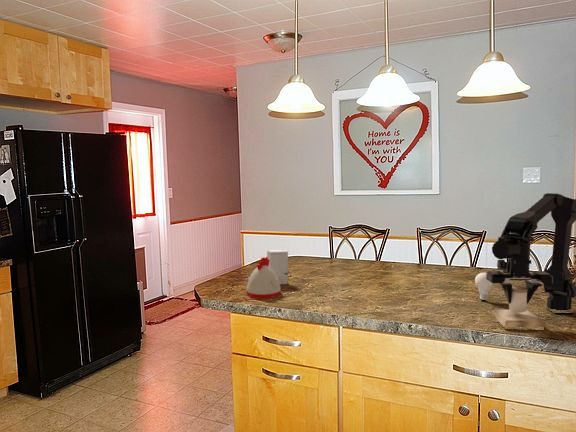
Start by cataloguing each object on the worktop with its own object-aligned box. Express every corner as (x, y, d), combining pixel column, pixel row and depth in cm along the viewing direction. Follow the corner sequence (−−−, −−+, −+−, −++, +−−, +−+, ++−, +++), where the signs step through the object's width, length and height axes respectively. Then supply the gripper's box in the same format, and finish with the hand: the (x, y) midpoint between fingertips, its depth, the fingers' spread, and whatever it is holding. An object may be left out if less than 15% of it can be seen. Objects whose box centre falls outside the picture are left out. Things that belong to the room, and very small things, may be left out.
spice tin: (522, 307, 153) (523, 286, 152) (529, 312, 148) (530, 290, 147) (506, 307, 153) (507, 285, 153) (512, 311, 148) (513, 290, 148)
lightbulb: (494, 300, 177) (495, 272, 176) (489, 304, 173) (490, 275, 171) (477, 297, 182) (478, 270, 180) (471, 301, 177) (472, 272, 176)
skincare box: (270, 285, 203) (270, 252, 201) (266, 282, 209) (265, 250, 207) (288, 284, 206) (288, 250, 204) (284, 281, 211) (283, 248, 210)
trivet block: (527, 318, 157) (528, 309, 156) (544, 330, 145) (545, 321, 144) (491, 317, 158) (491, 309, 157) (504, 330, 146) (505, 320, 145)
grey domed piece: (286, 292, 193) (286, 256, 191) (268, 300, 181) (268, 262, 180) (259, 288, 200) (258, 253, 198) (239, 295, 188) (239, 259, 187)
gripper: (538, 251, 156) (536, 296, 158) (481, 251, 158) (479, 296, 159) (554, 257, 145) (552, 306, 147) (493, 257, 147) (491, 305, 148)
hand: (517, 303), depth 150 cm, fingers closed on spice tin, 5 cm apart
